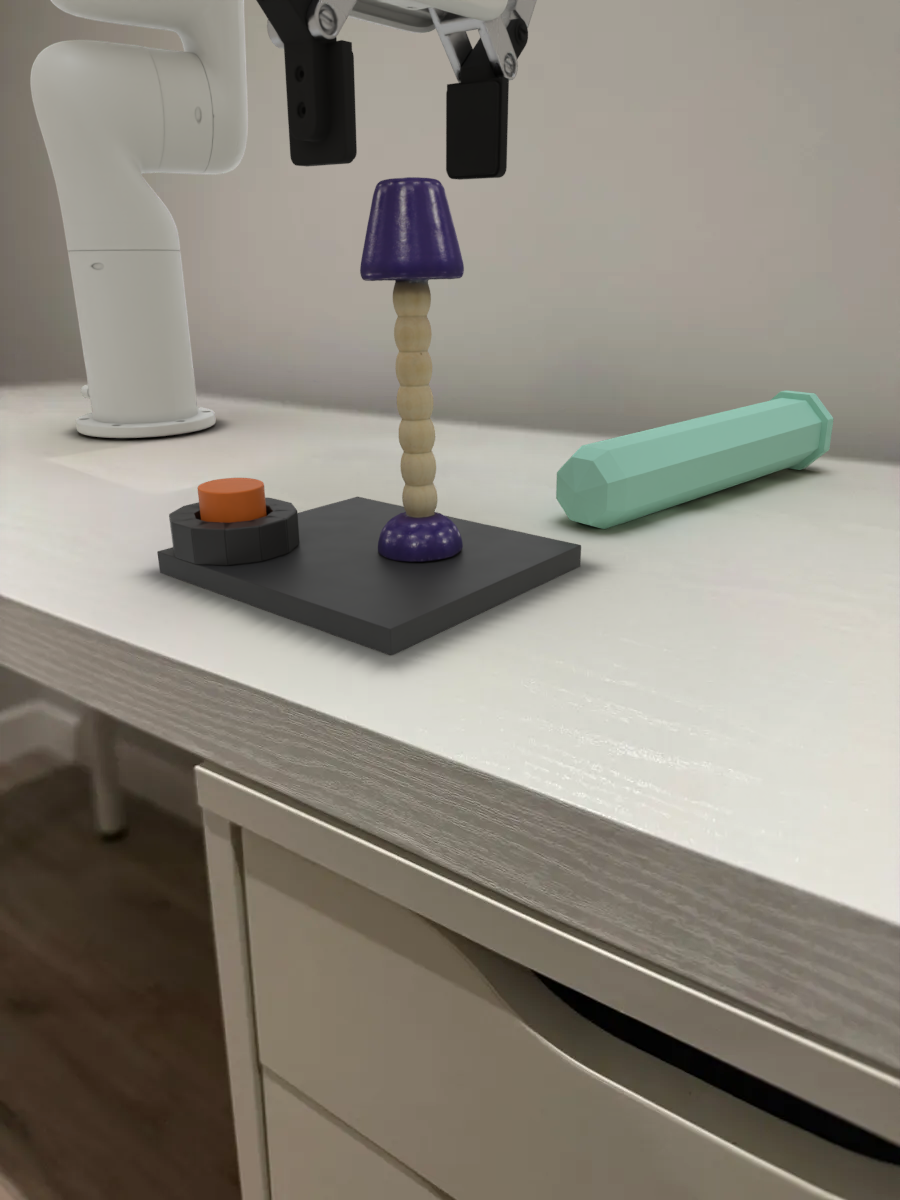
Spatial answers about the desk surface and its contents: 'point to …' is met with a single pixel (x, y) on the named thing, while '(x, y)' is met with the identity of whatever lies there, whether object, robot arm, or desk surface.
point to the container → (691, 459)
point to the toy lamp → (414, 348)
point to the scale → (358, 569)
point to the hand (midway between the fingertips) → (406, 171)
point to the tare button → (232, 500)
